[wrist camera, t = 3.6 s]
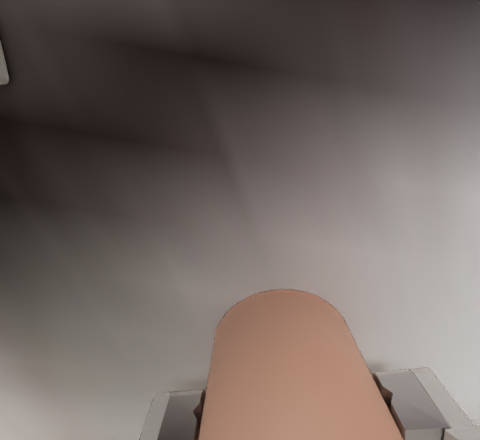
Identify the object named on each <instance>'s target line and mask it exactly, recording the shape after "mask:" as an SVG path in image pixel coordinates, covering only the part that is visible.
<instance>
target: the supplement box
mask: <svg viewBox="0 0 480 440" xmlns="http://www.w3.org/2000/svg"><path fill="white" fill-rule="evenodd" d="M8 82H9V76H8V72H7V67H6V62H5V57H4V54H3V50H2V46H1V42H0V85H5V84H7V83H8Z"/></svg>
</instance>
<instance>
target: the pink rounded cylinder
mask: <svg viewBox="0 0 480 440" xmlns="http://www.w3.org/2000/svg"><path fill="white" fill-rule="evenodd" d="M198 440H403V438H402V436H401V434H400V431H399V429H398V427H397V425H396V423H395V421H394V419H393V417H392V415H391V413H390V411H389V409H388V407H387V405H386V403H385V401H384V399H383V397H382V395H381V393H380V391H379V389H378V387H377V385H376V383H375V381H374V379H373V377H372V375H371V373H370V371H369V369H368V367H367V365H366V363H365V361H364V359H363V357H362V355H361V353H360V350H359V348H358V346H357V344H356V342H355V340H354V338H353V336H352V334H351V332H350V330H349V328H348V326H347V324H346V322H345V320H344V318H343V317H342V316H341V314H340V313H339V312H338V311H337V310H336V309H335V308H334V307H333V306H332V305H331V304H329V303H328V302H327V301H325V300H323V299H321V298H320V297H317V296H315V295H313V294H310V293H306V292H303V291H297V290H286V289H281V290H270V291H265V292H261V293H258V294H254V295H252V296H250V297H248V298H245V299H244V300H242V301H240V302H239V303H237V304H236V305H235V306H233V307H232V308H231V309H230V310H229V311H228V312H227V313H226V314H225V316H224V317H223V318H222V320H221V321H220V323H219V325H218V327H217V330H216V333H215V338H214V344H213V351H212V357H211V363H210V370H209V376H208V382H207V388H206V395H205V401H204V407H203V414H202V420H201V426H200V433H199V439H198Z"/></svg>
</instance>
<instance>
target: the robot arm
mask: <svg viewBox="0 0 480 440" xmlns="http://www.w3.org/2000/svg"><path fill="white" fill-rule="evenodd" d="M372 377H373V379H374V381H375V383H376V385H377V387H378V389H379V391H380V393H381V395H382V397H383V399H384V401H385V403H386V405H387V407H388V409H389V411H390V413H391V415H392V417H393V419H394V421H395V423H396V425H397V427H398V429H399V431H400V434H401V436H402V438H403V440H480V426H473V424H472V423H471V422H470V420H469V419H468V418H467V416H466V415H465V414H464V412H463V411H462V410H461V408H460V407H459V406H458V404H457V403H456V402H455V401H454V399H453V398H452V397H451V395H450V394H449V393H448V391H447V390H446V389H445V387H444V386H443V385H442V383H441V382H440V381H439V379H438V378H437V377H436V375H435V374H434V373H433V371H432V370H430V369H429V368H428V367H424V368H414V369H400V370H392V371H383V372H374V373H373V374H372ZM205 395H206V390H190V391H175V392H163V393H157V394H156V395H155V397H154V398H153V401H152V403H151V406H150V409H149V412H148V415H147V418H146V420H145V423H144V426H143V429H142V432H141V435H140V438H139V440H198V439H199V433H200V426H201V420H202V414H203V407H204V401H205Z"/></svg>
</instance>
